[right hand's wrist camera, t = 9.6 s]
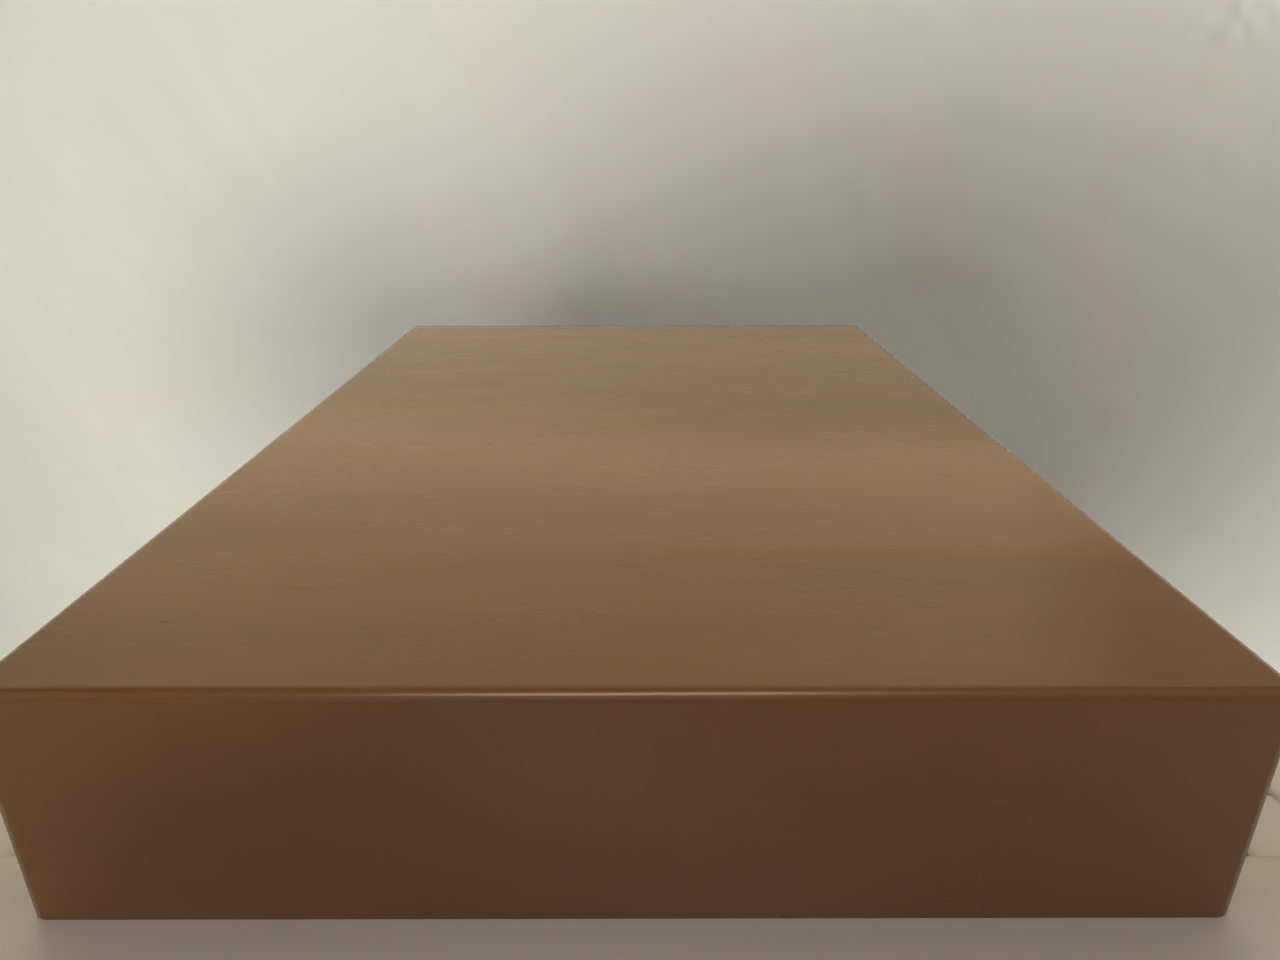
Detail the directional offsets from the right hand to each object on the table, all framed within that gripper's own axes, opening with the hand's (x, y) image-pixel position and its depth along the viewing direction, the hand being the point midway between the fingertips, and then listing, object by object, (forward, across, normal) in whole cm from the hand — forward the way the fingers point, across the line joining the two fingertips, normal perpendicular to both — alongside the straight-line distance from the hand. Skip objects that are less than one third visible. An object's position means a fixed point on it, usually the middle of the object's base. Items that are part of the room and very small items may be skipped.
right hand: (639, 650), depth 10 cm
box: (+4, 0, -11) cm, 11 cm away
